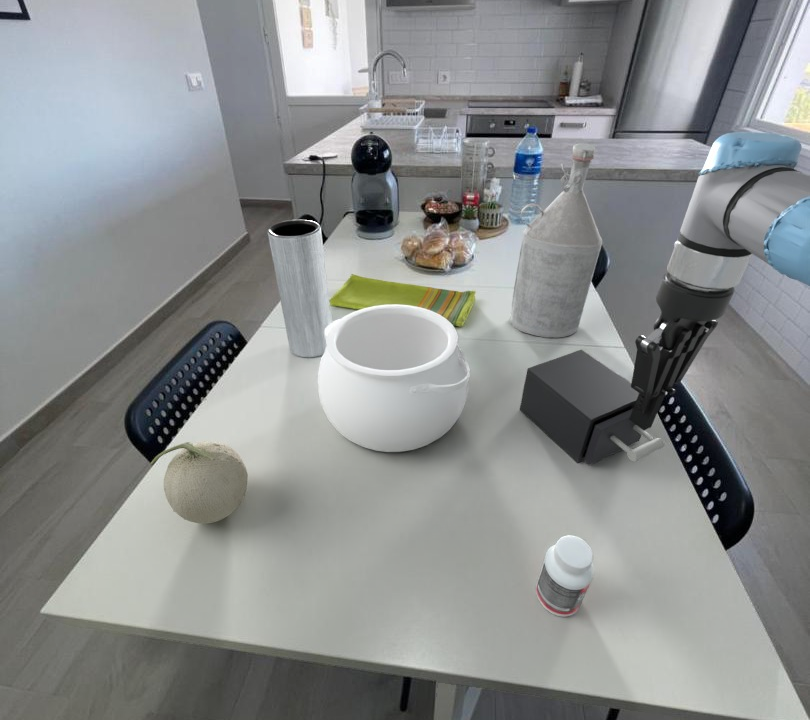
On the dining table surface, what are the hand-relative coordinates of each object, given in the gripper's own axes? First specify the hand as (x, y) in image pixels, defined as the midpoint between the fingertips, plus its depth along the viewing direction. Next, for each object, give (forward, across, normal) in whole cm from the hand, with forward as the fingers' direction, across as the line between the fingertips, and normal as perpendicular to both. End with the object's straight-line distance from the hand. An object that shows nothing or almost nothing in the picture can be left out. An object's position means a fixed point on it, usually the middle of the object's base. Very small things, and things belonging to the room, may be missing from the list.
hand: (639, 423), depth 67 cm
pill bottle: (+9, +24, +11) cm, 28 cm away
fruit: (+9, +60, -22) cm, 65 cm away
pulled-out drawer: (+8, 0, -6) cm, 10 cm away
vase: (+10, +34, -57) cm, 67 cm away
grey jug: (+10, -18, -40) cm, 45 cm away
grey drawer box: (+9, 0, -11) cm, 14 cm away
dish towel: (+10, +7, -65) cm, 66 cm away
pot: (+9, +27, -29) cm, 41 cm away
